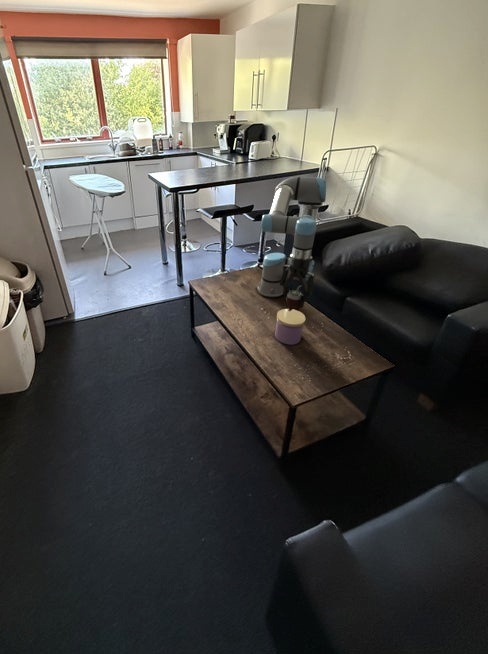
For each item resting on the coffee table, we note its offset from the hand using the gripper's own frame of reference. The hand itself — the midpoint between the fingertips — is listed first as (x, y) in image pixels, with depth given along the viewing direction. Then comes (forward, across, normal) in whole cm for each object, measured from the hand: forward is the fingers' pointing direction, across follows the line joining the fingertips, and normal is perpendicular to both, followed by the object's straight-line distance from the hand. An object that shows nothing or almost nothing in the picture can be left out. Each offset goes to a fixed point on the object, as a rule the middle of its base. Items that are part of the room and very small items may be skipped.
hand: (293, 303), depth 142 cm
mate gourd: (+3, 0, 0) cm, 3 cm away
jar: (+18, 0, 0) cm, 18 cm away
